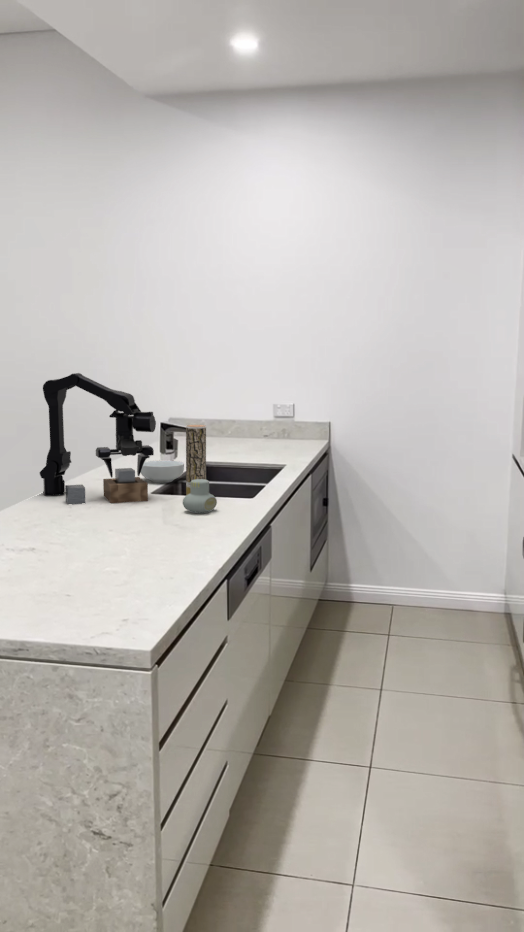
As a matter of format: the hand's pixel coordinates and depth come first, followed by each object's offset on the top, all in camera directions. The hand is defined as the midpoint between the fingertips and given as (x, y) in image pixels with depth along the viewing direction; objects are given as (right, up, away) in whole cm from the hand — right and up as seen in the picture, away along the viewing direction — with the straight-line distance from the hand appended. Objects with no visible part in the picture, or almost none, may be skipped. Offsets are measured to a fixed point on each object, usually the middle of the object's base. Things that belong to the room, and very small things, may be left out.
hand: (125, 476), depth 274 cm
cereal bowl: (+8, -2, +33) cm, 34 cm away
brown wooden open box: (0, -7, +1) cm, 8 cm away
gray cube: (-15, -9, -6) cm, 19 cm away
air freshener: (+27, -11, -17) cm, 33 cm away
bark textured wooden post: (+24, -8, +3) cm, 25 cm away
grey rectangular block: (0, -8, +1) cm, 8 cm away
